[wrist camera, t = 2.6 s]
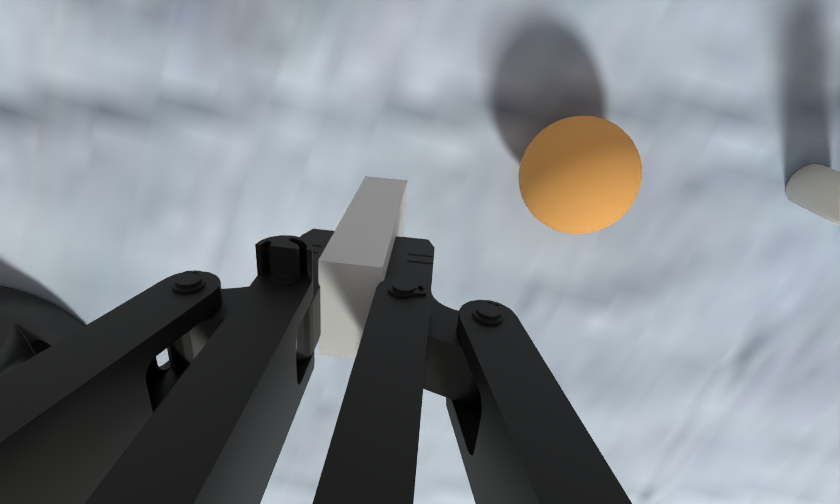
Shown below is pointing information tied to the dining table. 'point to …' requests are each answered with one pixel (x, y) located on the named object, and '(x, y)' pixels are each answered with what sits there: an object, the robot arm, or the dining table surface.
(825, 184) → the pin
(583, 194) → the ball
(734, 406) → the dining table surface
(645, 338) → the dining table surface
